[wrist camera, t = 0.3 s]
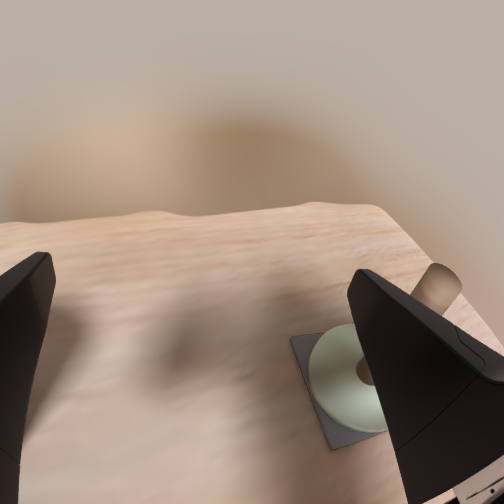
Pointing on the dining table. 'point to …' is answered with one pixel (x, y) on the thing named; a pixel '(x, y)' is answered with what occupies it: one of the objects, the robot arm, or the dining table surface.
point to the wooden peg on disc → (354, 363)
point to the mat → (332, 430)
